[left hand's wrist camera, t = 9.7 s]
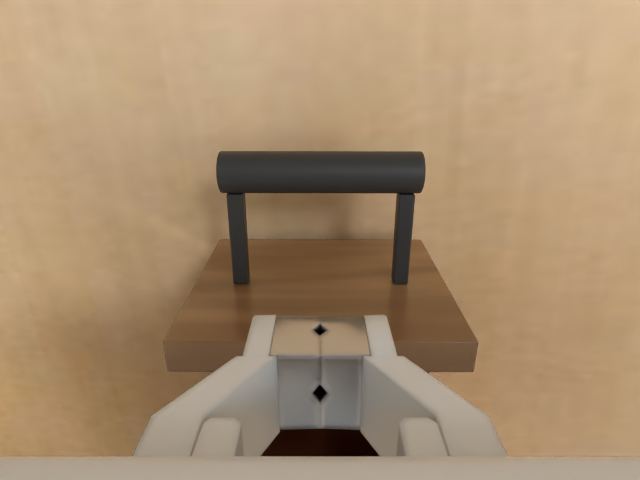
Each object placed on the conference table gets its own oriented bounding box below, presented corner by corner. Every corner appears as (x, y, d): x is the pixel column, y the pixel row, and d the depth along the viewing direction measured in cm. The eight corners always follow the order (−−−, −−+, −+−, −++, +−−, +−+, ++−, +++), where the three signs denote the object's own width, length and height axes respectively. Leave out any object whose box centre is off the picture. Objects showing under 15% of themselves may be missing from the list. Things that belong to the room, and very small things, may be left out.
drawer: (210, 132, 21) (138, 179, 12) (430, 133, 21) (503, 180, 12) (243, 514, 30) (214, 688, 22) (396, 514, 30) (425, 688, 22)
